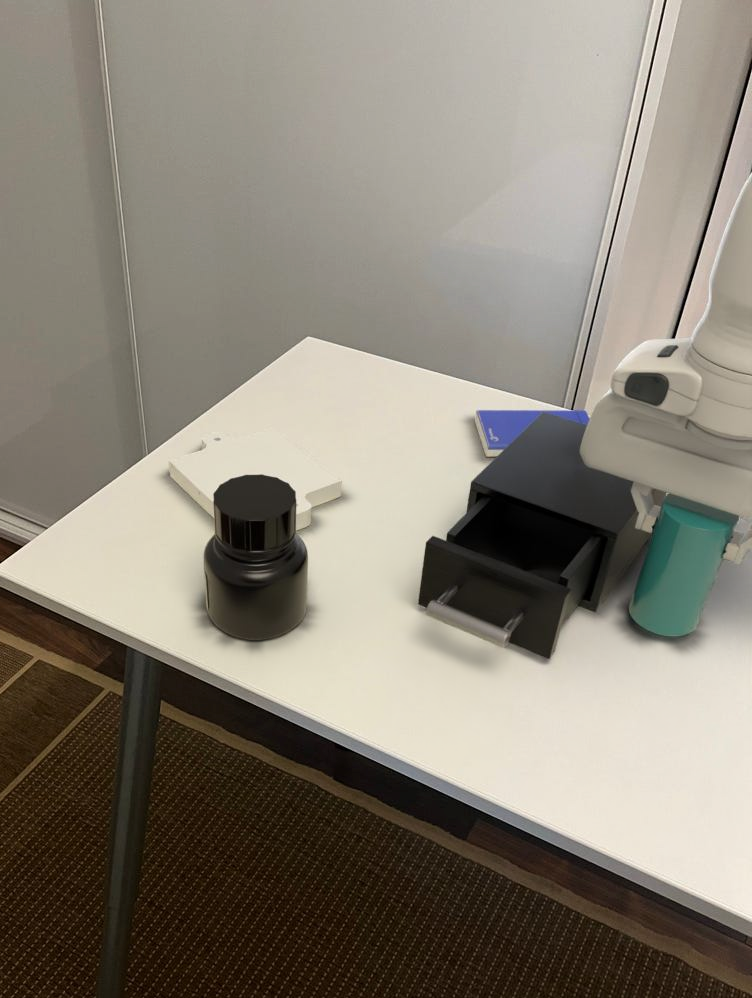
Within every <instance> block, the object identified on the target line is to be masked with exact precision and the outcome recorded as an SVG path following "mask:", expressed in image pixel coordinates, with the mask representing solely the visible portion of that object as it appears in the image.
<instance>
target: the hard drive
mask: <svg viewBox="0 0 752 998" xmlns="http://www.w3.org/2000/svg"><path fill="white" fill-rule="evenodd" d="M542 412H546V413H550V414H553V415H556V416H559V417H563V418H566V419H569V420H573V421H576V422H579V423H582V424H586V425H587V424H588V422H589V419H590V416H589V414H588V412H587V410H584V409H576V410H559V409H558V410H554V409H553V410H549V409H548V410H539V409H537V410H536V409H535V410H534V409H532V410H531V409H520V410H519V409H476V410H475V416H474V423H475V426H476V429H477V432H478V435H479V438H480V442H481V446H482V448H483V451H484V454H485V457H489V458H490V457H491V458H492V457H493V458H494V457H495V458H496V457H497V456H498V455H499V454H500V453H501V452H502V451H503V450H504V449H505V448H506V447H507V446H508V445H509V444H510V443H511V442H512V441H513V440H514V439H515V438H516V437H517V436H518V435H519V434H520V433H521V432H522V431H523V430H525V429H526V428H527V427H528V426H529V425H530V424H531V423H532V422H533V421H534V420H535V419H536V418H537V417H538V416H539V415H540V414H541V413H542Z"/></svg>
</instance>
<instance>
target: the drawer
mask: <svg viewBox="0 0 752 998" xmlns="http://www.w3.org/2000/svg"><path fill="white" fill-rule="evenodd" d="M606 541H607V537H605V536H602V535H599V534H596V533H593V532H590V531H588V530H585V529H582V528H579V527H576V526H573V525H571V524H568V523H565V522H562V521H559V520H557V519H554V518H551V517H548V516H545V515H542V514H540V513H537V512H534V511H531V510H528V509H525V508H523V507H520V506H517V505H514V504H511V503H509V502H506V501H503V500H500V499H497V498H494V497H492V496H489V495H486V494H485V495H484V496H483V497H482V498H481V499H480V500H479V501H478V502H477V503H476V504H475V505H474V506H473V507H472V508H471V509H470V510H469V511H468V512H467V513H466V512H465V514H464V515H462V517H460V519H459V520H458V521H457V522H456V523H455V524H454V525H453V526H452V527H451V528H450V529H449V530H448V531H447V532H446V537H445V539H443V538H440V537H437V536H435V535H431V536H430V538H428V540H427V541H426V542H425V547H424V554H423V563H422V570H421V578H420V586H419V592H418V601H417V605H419V606H421V607H424V608H426V609H425V615H426V616H428V617H430V618H433V619H436V620H437V621H439V622H442V623H444V624H447V625H449V626H451V627H452V628H453V627H454V628H456V629H458V630H460V631H463V632H466V633H468V634H470V635H472V636H475V637H478V638H479V639H482V640H484V641H487V642H488V643H492V644H494V645H495V646H498V647H500V648H502V649H503V648H505V647H507V645H509V644H511V645H514V646H516V647H518V648H521V649H523V650H525V651H527V652H529V653H532V654H534V655H537V656H539V657H542V658H544V659H546V660H550V659H551V658H552V656H553V655H554V654H555V652H556V649H557V647H558V646H557V645H558V641H559V638H560V634H561V630H562V627H563V626H564V625H565V624H566V622H567V620H568V619H569V618H570V616H571V615H572V614H573V613H574V611H575V610H576V609H577V607H578V606H579V605H578V604H579V603H580V602H581V600H582V599H583V598H584V596H585V595H586V594H587V592H588V591H589V590H590V588H591V587H592V586H593V584H594V583H595V580H596V577H597V573H598V570H599V566H600V562H601V559H602V555H603V552H604V548H605V545H606Z"/></svg>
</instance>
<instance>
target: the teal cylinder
mask: <svg viewBox="0 0 752 998" xmlns="http://www.w3.org/2000/svg"><path fill="white" fill-rule="evenodd" d="M739 521H740V516H737V515H734V514H731V513H728V512H725V511H722V510H719V509H716V508H713V507H710V506H707V505H704V504H701V503H697V502H694V501H691V500H688V499H685V498H682V497H679V496H676V495H673V494H670V493H667V494H666V496H665V497H664V499H663V502H662V505H661V508H660V511H659V514H658V517H657V521H656V524H655V527H654V530H653V533H652V534H651V536H650V539H649V542H648V545H647V548H646V552H645V555H644V558H643V561H642V564H641V567H640V571H639V573H638V577H637V580H636V583H635V587H634V589H633V592H632V595H631V598H630V602H629V605H628V612H629V614H630V617H631V619H632V620H633V621H634V622H635V623H636V624H637V625H638V626H640V627H641V628H643V629H645V630H647V631H649V632H651V633H653V634H657V635H659V636H666V637H667V636H668V637H682V636H686V635H688V634H691V633H692V632H694V631H695V630H696V629H697V627H698V625H699V623H700V621H701V618H702V615H703V612H704V610H705V608H706V605H707V602H708V600H709V597H710V596H711V595H710V594H711V592H712V589H713V587H714V585H715V582H716V579H717V576H718V574H719V571H720V569H721V566H722V564H723V561H724V559H723V558H722V556H723V554H724V552H725V551H726V550H725V548H726V546H727V543H728V541H729V540H730V539H731V538H732V536H733V533H734V532H735V530H736V528H737V525H738V523H739Z"/></svg>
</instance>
